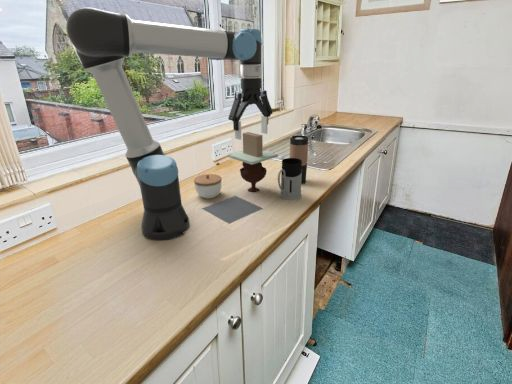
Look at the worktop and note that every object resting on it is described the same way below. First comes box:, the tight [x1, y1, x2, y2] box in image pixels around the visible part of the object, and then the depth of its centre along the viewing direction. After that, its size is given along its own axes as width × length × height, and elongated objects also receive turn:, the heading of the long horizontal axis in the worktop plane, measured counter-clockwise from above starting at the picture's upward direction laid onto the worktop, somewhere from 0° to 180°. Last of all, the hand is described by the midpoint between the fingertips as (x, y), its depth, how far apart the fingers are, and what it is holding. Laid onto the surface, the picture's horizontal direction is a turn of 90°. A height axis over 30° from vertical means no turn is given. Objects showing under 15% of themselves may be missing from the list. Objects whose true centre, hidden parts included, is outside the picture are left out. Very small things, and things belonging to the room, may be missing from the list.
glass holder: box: [277, 157, 303, 202], centre depth 120 cm, size 9×14×15 cm, turn 146°
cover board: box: [227, 131, 279, 165], centre depth 123 cm, size 14×14×9 cm
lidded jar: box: [193, 173, 222, 200], centre depth 125 cm, size 11×11×9 cm
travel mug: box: [289, 134, 309, 185], centre depth 136 cm, size 8×8×20 cm
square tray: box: [201, 195, 264, 224], centre depth 115 cm, size 16×16×1 cm
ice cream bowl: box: [239, 162, 267, 194], centre depth 128 cm, size 11×11×15 cm
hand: (251, 136), depth 121 cm, fingers open, 13 cm apart
